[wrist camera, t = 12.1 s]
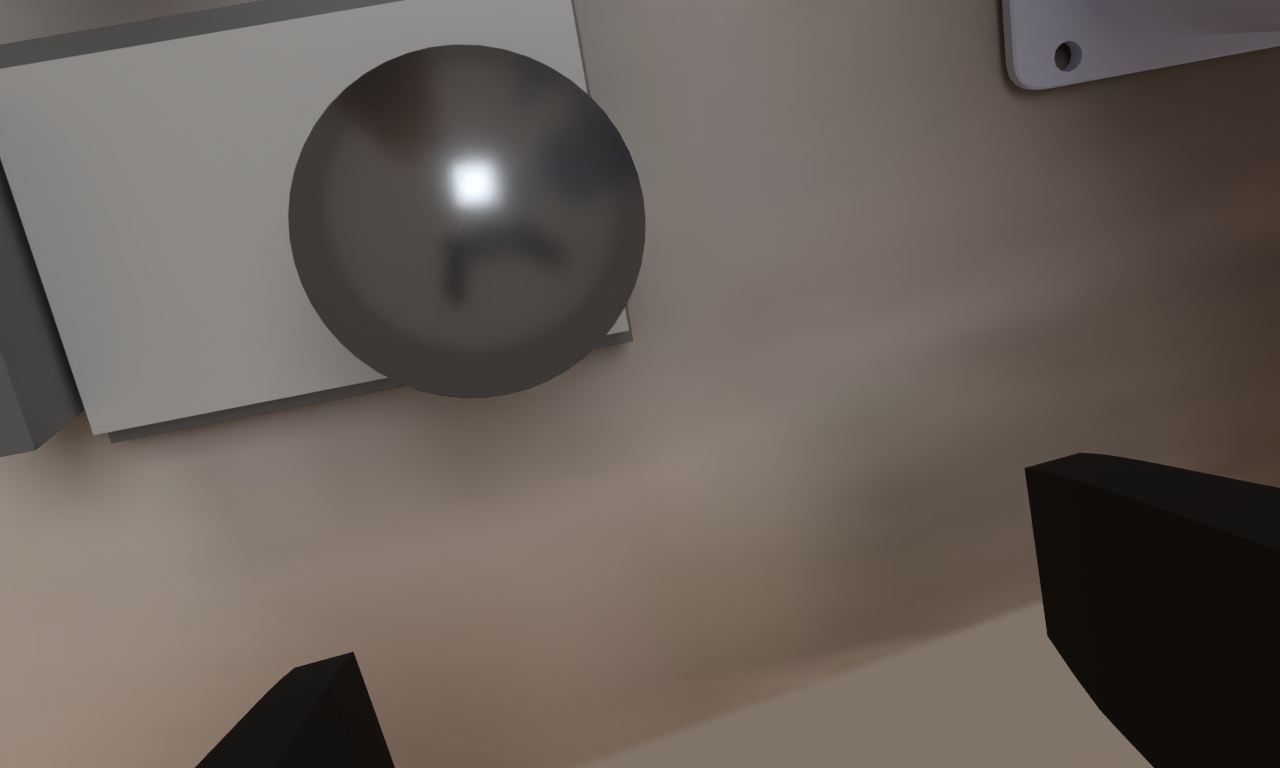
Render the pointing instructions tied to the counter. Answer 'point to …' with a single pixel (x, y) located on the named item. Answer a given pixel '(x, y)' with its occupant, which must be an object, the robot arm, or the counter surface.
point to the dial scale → (193, 205)
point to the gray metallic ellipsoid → (466, 221)
